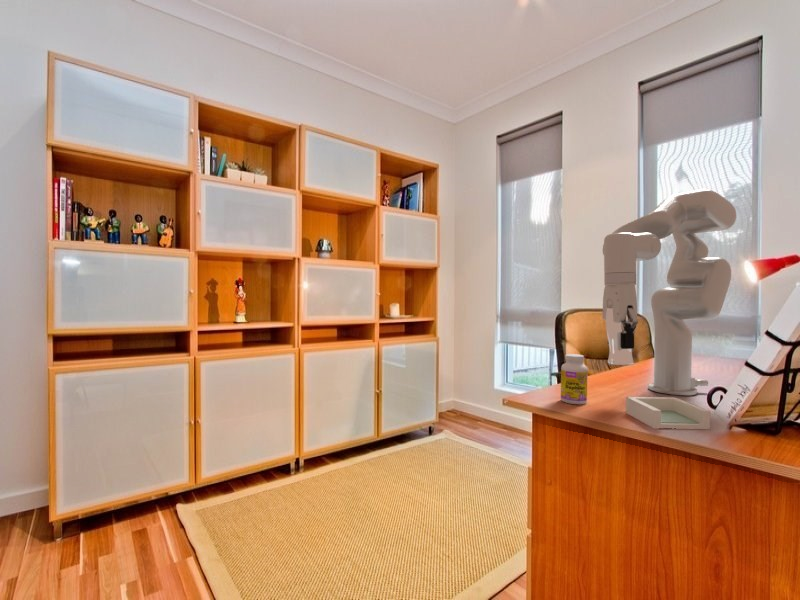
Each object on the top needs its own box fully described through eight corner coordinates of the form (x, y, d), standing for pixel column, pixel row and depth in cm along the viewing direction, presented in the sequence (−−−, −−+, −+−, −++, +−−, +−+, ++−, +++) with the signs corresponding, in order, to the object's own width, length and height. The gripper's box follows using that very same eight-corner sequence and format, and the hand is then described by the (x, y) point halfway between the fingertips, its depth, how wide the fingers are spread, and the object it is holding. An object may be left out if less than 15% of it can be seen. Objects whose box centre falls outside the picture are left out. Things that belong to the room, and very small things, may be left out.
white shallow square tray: (675, 413, 102) (675, 397, 102) (709, 429, 90) (709, 411, 90) (625, 412, 103) (626, 396, 103) (653, 428, 91) (654, 410, 91)
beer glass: (639, 365, 107) (639, 308, 107) (610, 365, 108) (609, 308, 108) (630, 361, 114) (629, 306, 113) (603, 360, 115) (602, 307, 115)
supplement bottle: (561, 403, 111) (561, 356, 111) (560, 398, 117) (560, 352, 117) (588, 406, 109) (588, 357, 109) (585, 400, 115) (586, 354, 115)
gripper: (591, 280, 119) (592, 342, 120) (622, 279, 102) (622, 352, 102) (618, 279, 119) (618, 341, 120) (653, 278, 102) (653, 351, 102)
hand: (620, 345), depth 111 cm, fingers closed on beer glass, 6 cm apart
